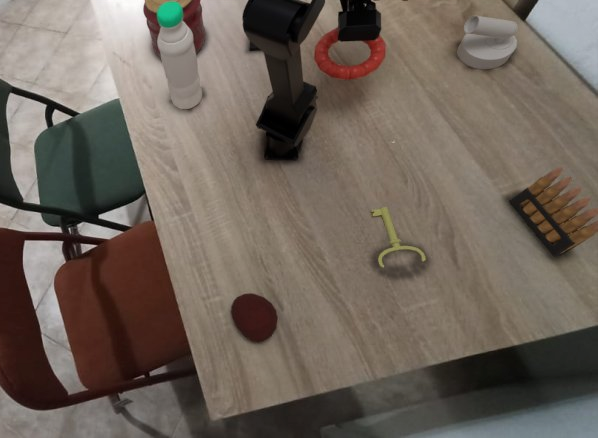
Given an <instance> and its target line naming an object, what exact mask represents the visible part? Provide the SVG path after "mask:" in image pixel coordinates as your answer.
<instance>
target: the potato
mask: <svg viewBox="0 0 598 438" xmlns="http://www.w3.org/2000/svg"><path fill="white" fill-rule="evenodd" d="M230 310H231V312H230V313H231V317H232V320H233V322H234V325H235V326H236V328H237V329H238V330H239V332H240V333H242V335H243V336H244V337H245V338H247V339H248V340H250V341H251V342H254V343H262V342H265V341H267V340H268V339H269V338H271V337H272V336H273V334H274V332H275V331H276V329H277V325H278V321H279V318H278V313H277V309H276V308H275V306H274V305H273V303H272V302H271V301H270V300H268V299H267V298H266V297H264V296H262V295H259V294H256V293H252V292H250V293H242V294H241V295H239V296H237V297H236V298H235V299H234V300H233V301H232V304H231V308H230Z"/></svg>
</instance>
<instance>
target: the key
mask: <svg viewBox="0 0 598 438" xmlns="http://www.w3.org/2000/svg"><path fill="white" fill-rule="evenodd" d="M370 213H372V214H371V216H372V217H382V220H383V221H382V222H383V223H384V226H385V227H384V228H385V229H386V232H387V236H388V237H389V238H388V239H389V241H388V244H390V245H391V246H392V247H389V248H387V249H384V250H383V251H381V252H380V253H379V255H378V257H377V261H378V264H379V266H380V267H381V268H385V264H384V263H383V257H385V256H386V255H387V254H390V253H392V252H396V251H413V252H416V253H418V254H419V256H420V257H421V261H422V262H425V261H426V259H427V257H426V255H425V253H424V252H423V250H422V249H420V248H418V247H415V246H411V245H400V244H401V242H402V240H401V239H400V238H398V236H397V232H396V230H395V227H394V224H393V220H392V217H391V215H390V211H389V208H388V207H387V206H383V207H380V208H377V209H372V210H370Z"/></svg>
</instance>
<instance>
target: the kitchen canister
mask: <svg viewBox="0 0 598 438" xmlns="http://www.w3.org/2000/svg"><path fill="white" fill-rule="evenodd" d="M170 1H175V2H177V3H179V4H180V5H181V7H182V9H183V21H184V22H185V24H186V25H187V26H188V27H189V28H190V29H191V31H192V33H193V43H194V47H195V52H196V54H198V53H199V52H200V50H202V48H203V46H204V44H205V38H206V28H205V25H204V21H203V20H204V19H203V7H202V4H201V0H144V3H143V8H142V11H143V15H144V17H145V18H146V26H147V28H148V31H149V34H150V38H151V45H152V48H153V50H154V52H155V54H156V55H157V56H158V57H159V58H160V59H161V54H160V50H159V48H158V44H157V40H158V36H159V33H160V28H161V26H160V24H159V22H158V19H157V11H158V8H159V7H160V6H161V5H162V4H164V3H166V2H170Z"/></svg>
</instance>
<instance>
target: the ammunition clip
mask: <svg viewBox="0 0 598 438" xmlns="http://www.w3.org/2000/svg"><path fill="white" fill-rule="evenodd" d="M563 171H564V167H562V166H561V167H557V168H555V169H552V170H550V171H549V172H548V173H547V174H545V175H544V176H541V177H539V178H538V179H537V180H536V181H535V182H533V183H532V184H531V185H530V186H529V187H526V188H525V189H523V190H521V192H519V193H518V194H517V195H515V196H513V197H512V198H511V199H509V201H508V202H509V203H510V204H511V206H512V207H513V208H514V210H516V212H517V213H518V215H519V216H520V217H521V218H522V219H523V220H524V222H525V223H526V224H527V225H528V227H529V228H530V229H531V230H532V232H533V233H534V234H535V236H536V237H537V238H538V239H539V241H541V243H542V244H543V245H544V246H545V247H546V249H547V250H548V251H549V253H550V254H551V255H552V256H554V257H557V256H560V255H563V254H566V253H568V252H569V251H571V250H573V249H574V248H576V247H577V246H580V245H581V244H583V243H584V242H585V241H587V240H589V239H590V238H592V237H594V236H595V235H596V234H597V233H598V220H596V221H594V222H592V223H590V224H588V222H590V221H591V220H593V219H594V218H595V217H596V216H597V215H598V207H594V208H591V209H588V210H586V211H584V212H583V213H580V214H578V213H579V212H580V211H582V209H584V208H585V207H587V206H588V205H589V203H590V202H591V199H592V198H591V197H590V196H589V197H583V198H581V199H578V200H576V201H574V202H572V201H573V200H574V199H575V198H576V197H577V196H578V195H579V194H580V193H581V191H582V187H580V186H579V187H578V186H577V187H574V188H571V189H570V190H568V191H566V192H565V193H563V194H561V192H563V191H565V189H566V188H567V187H568V186H569V185H570V184H571V182H572V181H573V177H572V176H568V177H566V178H563V179H561V180H559V181H557V182H556V183H554V184H553V182H554V181H555V180H557V179H558V178H559V176H560V175H561V174H562V172H563ZM552 184H553V185H552ZM560 194H561V195H560ZM570 202H572V203H571V204H570V205H569V203H570ZM577 214H578V215H577ZM586 224H587V225H586Z"/></svg>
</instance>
